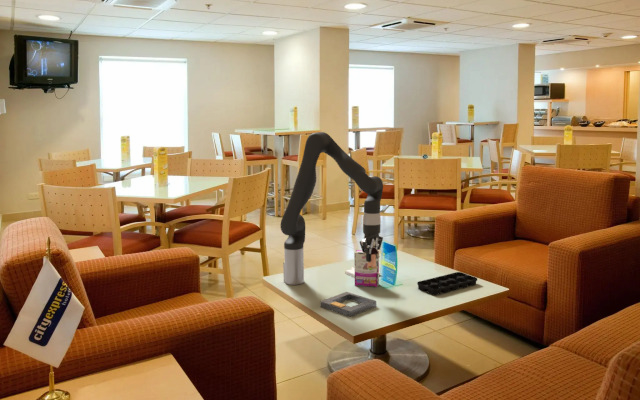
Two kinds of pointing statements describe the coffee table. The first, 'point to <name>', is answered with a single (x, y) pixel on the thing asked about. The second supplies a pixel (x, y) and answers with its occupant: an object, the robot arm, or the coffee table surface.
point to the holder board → (337, 307)
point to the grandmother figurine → (373, 257)
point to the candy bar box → (365, 271)
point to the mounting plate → (352, 272)
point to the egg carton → (446, 283)
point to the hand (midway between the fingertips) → (371, 260)
